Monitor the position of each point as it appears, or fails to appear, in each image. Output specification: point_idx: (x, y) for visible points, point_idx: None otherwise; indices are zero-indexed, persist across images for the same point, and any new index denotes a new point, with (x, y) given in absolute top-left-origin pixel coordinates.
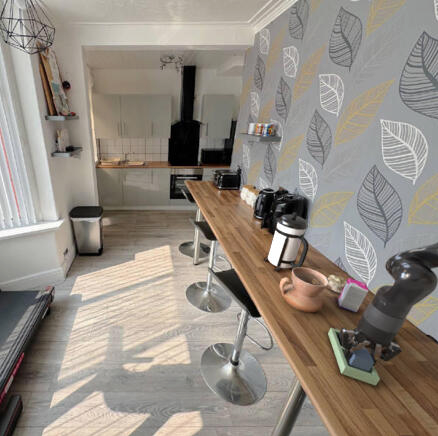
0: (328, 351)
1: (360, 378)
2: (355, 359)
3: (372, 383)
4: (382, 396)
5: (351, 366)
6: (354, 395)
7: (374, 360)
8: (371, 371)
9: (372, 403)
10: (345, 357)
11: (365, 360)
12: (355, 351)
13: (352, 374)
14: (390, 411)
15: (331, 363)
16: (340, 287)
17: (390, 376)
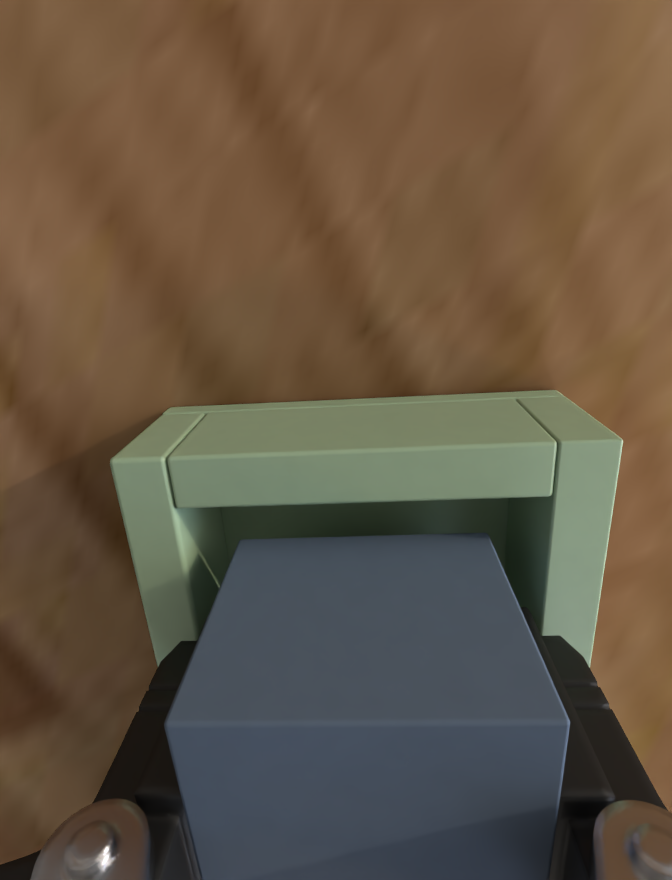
0: (596, 659)
1: (344, 408)
2: (514, 652)
3: (205, 409)
4: (120, 271)
5: None
6: (494, 64)
7: (148, 776)
8: (198, 561)
9: (268, 54)
10: (557, 638)
11: (340, 708)
12: (501, 851)
13: (454, 410)
14: (59, 44)
15: (630, 500)
16: None
17: (6, 608)
